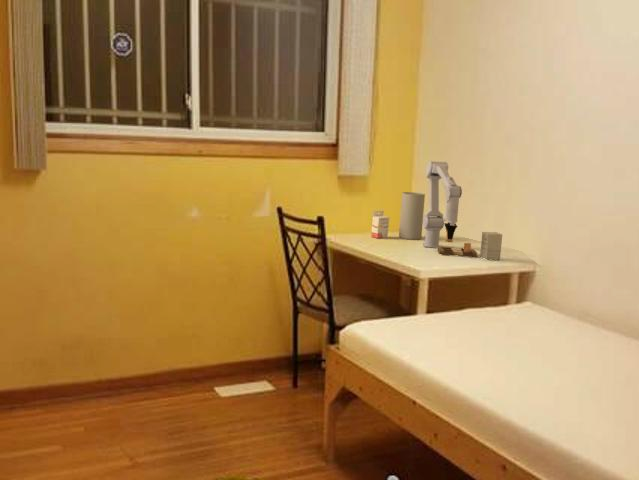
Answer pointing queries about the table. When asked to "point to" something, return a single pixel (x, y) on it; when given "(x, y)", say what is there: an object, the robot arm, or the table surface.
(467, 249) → the pin
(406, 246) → the table surface
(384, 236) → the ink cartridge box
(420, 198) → the cylinder vase
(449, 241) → the loose pin
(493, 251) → the supplement box
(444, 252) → the wooden grid frame
